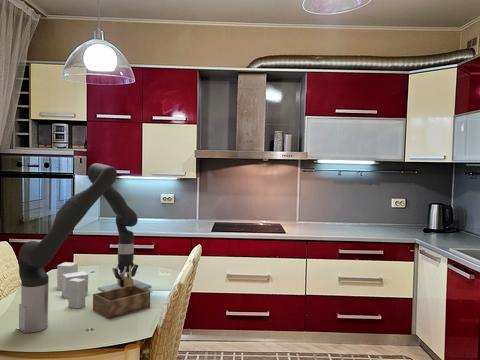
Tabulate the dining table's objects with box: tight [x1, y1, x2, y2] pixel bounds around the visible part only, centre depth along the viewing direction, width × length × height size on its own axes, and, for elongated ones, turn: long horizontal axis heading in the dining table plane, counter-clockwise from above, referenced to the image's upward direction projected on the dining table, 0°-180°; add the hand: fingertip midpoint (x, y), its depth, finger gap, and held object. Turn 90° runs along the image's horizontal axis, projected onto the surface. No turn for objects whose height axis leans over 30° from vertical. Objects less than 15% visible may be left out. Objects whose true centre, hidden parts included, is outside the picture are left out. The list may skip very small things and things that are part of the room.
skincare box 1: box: [61, 271, 89, 300], centre depth 188 cm, size 10×6×10 cm, turn 129°
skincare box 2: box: [67, 278, 86, 309], centre depth 174 cm, size 6×4×12 cm
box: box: [92, 285, 151, 320], centre depth 173 cm, size 20×14×7 cm
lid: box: [97, 275, 153, 292], centre depth 195 cm, size 21×15×6 cm
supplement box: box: [56, 261, 79, 291], centre depth 199 cm, size 7×7×13 cm
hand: (125, 286), depth 195 cm, fingers closed on lid, 3 cm apart
